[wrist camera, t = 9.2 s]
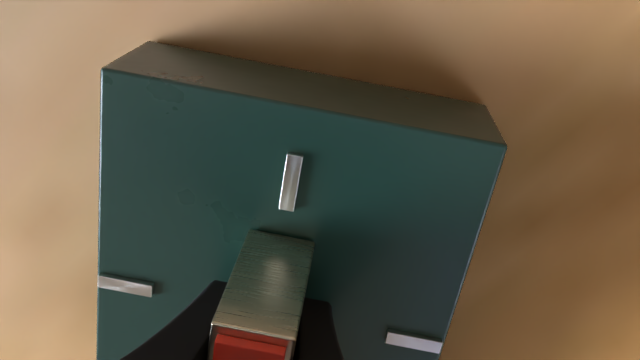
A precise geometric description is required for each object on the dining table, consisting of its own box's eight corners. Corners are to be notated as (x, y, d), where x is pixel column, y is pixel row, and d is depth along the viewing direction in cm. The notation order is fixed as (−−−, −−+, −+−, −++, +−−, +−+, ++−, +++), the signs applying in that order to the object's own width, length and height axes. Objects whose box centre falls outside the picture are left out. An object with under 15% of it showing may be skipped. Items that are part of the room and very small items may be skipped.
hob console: (394, 414, 20) (396, 497, 17) (132, 362, 20) (91, 437, 18) (486, 104, 16) (510, 148, 13) (147, 39, 16) (96, 69, 13)
